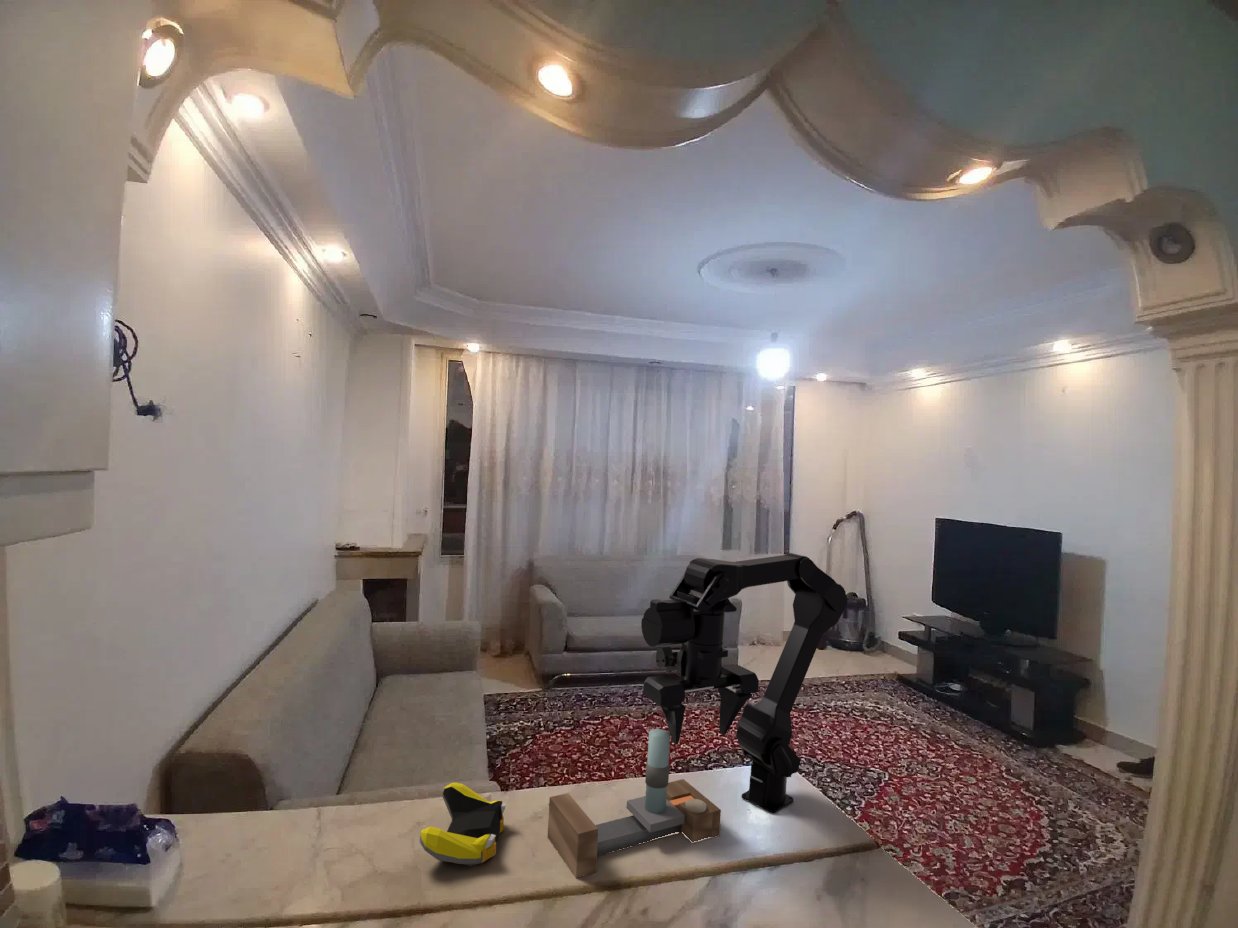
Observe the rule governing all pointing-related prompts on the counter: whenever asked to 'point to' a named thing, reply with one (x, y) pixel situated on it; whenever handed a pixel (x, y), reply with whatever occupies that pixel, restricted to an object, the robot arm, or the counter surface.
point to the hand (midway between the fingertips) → (699, 738)
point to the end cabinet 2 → (695, 811)
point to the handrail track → (626, 834)
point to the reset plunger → (680, 801)
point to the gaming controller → (465, 828)
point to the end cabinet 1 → (573, 834)
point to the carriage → (656, 788)
